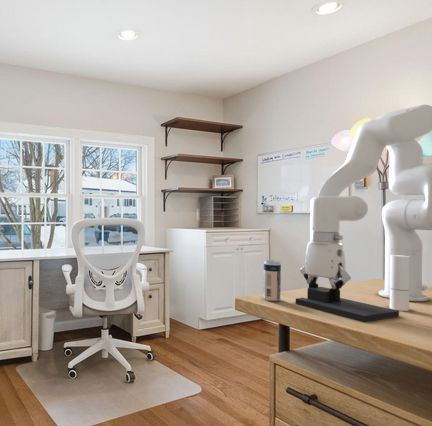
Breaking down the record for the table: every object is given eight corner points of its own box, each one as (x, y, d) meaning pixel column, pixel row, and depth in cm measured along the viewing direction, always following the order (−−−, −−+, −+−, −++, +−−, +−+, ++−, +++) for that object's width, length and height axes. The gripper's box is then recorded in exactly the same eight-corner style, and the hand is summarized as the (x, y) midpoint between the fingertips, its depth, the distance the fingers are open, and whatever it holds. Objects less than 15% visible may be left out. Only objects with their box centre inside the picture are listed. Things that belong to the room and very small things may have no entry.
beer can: (283, 302, 113) (283, 261, 113) (267, 301, 113) (267, 261, 113) (276, 298, 118) (276, 259, 118) (260, 298, 118) (261, 259, 118)
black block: (321, 298, 114) (321, 286, 114) (340, 302, 109) (340, 290, 109) (307, 299, 112) (307, 288, 112) (325, 304, 106) (326, 291, 106)
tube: (412, 311, 104) (412, 256, 104) (394, 310, 105) (395, 256, 105) (403, 307, 108) (404, 255, 108) (386, 306, 109) (387, 254, 109)
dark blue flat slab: (328, 299, 117) (328, 295, 117) (399, 316, 98) (399, 310, 98) (295, 303, 111) (295, 298, 111) (364, 322, 93) (364, 315, 93)
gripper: (362, 240, 104) (361, 305, 104) (307, 236, 120) (306, 292, 120) (344, 240, 101) (343, 307, 101) (290, 236, 117) (289, 294, 117)
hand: (323, 299), depth 110 cm, fingers closed on black block, 5 cm apart
